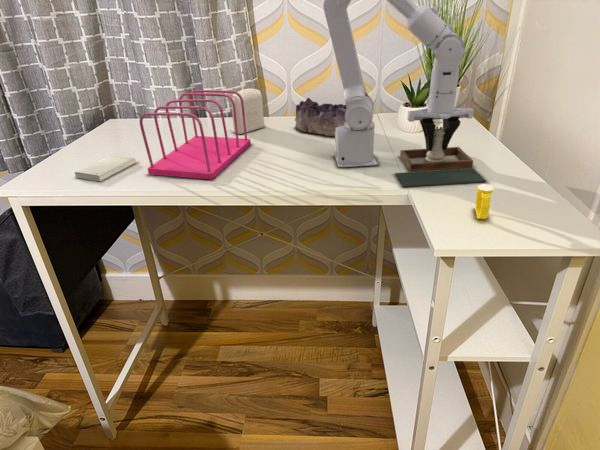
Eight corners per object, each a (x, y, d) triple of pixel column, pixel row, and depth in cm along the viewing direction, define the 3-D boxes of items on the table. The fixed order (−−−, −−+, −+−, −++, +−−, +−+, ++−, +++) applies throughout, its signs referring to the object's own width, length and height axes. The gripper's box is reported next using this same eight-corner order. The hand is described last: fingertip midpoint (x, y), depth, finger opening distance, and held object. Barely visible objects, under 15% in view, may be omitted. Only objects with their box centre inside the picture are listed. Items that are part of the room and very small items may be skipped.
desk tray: (410, 171, 100) (410, 164, 99) (400, 156, 109) (400, 150, 108) (472, 167, 101) (473, 160, 100) (457, 153, 109) (458, 146, 108)
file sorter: (148, 175, 106) (132, 112, 98) (196, 141, 127) (186, 87, 119) (212, 180, 101) (201, 114, 94) (251, 144, 122) (245, 87, 114)
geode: (285, 134, 128) (284, 100, 125) (302, 128, 138) (302, 96, 134) (350, 139, 120) (350, 101, 116) (363, 132, 129) (364, 97, 126)
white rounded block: (258, 124, 139) (254, 85, 132) (266, 127, 136) (263, 86, 130) (232, 132, 132) (227, 91, 126) (240, 135, 130) (235, 93, 124)
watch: (470, 207, 84) (475, 179, 81) (485, 208, 83) (491, 180, 80) (474, 223, 79) (479, 193, 76) (490, 224, 78) (496, 194, 75)
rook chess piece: (445, 164, 102) (449, 131, 98) (425, 163, 103) (429, 130, 99) (443, 157, 106) (447, 125, 102) (424, 156, 107) (428, 125, 103)
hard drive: (99, 175, 103) (134, 157, 113) (74, 171, 106) (111, 154, 116) (100, 182, 104) (136, 163, 114) (76, 178, 107) (112, 159, 117)
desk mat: (403, 187, 93) (403, 185, 93) (395, 174, 99) (395, 173, 99) (485, 182, 93) (485, 180, 93) (472, 169, 100) (473, 168, 99)
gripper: (415, 97, 93) (410, 156, 99) (482, 93, 93) (472, 153, 100) (407, 89, 99) (402, 146, 105) (469, 86, 99) (461, 142, 106)
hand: (436, 148), depth 103 cm, fingers closed on rook chess piece, 3 cm apart
